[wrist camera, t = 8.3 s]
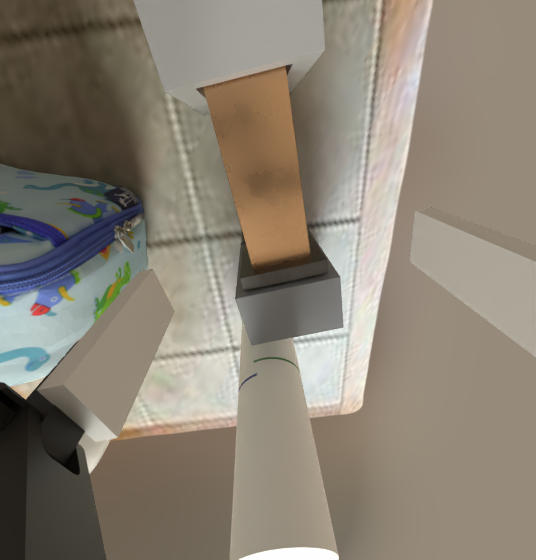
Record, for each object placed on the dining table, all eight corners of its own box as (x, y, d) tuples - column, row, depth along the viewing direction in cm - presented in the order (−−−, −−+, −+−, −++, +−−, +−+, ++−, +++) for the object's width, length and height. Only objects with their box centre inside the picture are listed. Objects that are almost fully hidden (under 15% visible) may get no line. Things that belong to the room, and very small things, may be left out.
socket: (241, 243, 31) (235, 299, 20) (308, 228, 30) (340, 277, 19) (251, 279, 34) (251, 345, 23) (313, 266, 33) (343, 327, 22)
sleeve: (166, -17, 19) (57, -223, 8) (272, -47, 19) (301, -306, 8) (204, 115, 24) (164, 91, 13) (290, 93, 23) (325, 49, 12)
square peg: (189, 58, 18) (157, 13, 12) (283, 33, 18) (300, -27, 11) (254, 288, 28) (255, 328, 22) (314, 275, 28) (332, 313, 22)
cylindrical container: (232, 318, 37) (205, 570, 15) (268, 292, 35) (296, 539, 13) (262, 343, 40) (275, 584, 18) (297, 321, 38) (358, 560, 16)
